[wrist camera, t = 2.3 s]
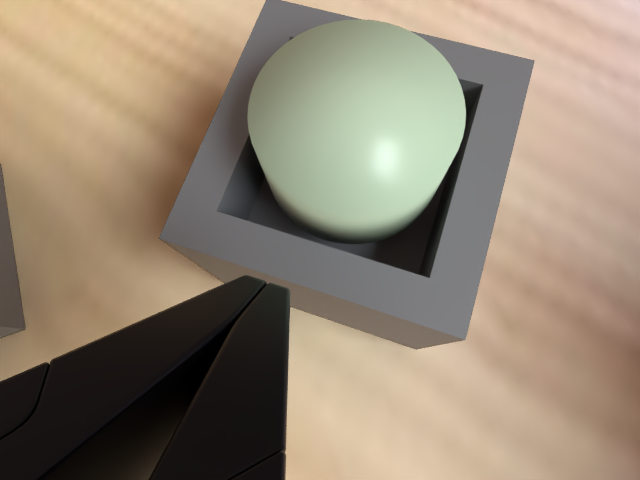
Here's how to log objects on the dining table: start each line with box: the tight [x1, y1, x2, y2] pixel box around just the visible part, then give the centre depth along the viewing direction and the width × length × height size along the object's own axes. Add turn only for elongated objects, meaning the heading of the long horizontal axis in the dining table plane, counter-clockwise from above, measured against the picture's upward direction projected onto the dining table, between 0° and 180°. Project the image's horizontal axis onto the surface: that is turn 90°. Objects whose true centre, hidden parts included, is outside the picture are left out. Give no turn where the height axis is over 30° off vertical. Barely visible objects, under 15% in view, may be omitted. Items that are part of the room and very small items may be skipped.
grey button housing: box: [159, 0, 534, 349], centre depth 17 cm, size 9×9×8 cm
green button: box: [247, 19, 466, 244], centre depth 13 cm, size 6×6×3 cm
